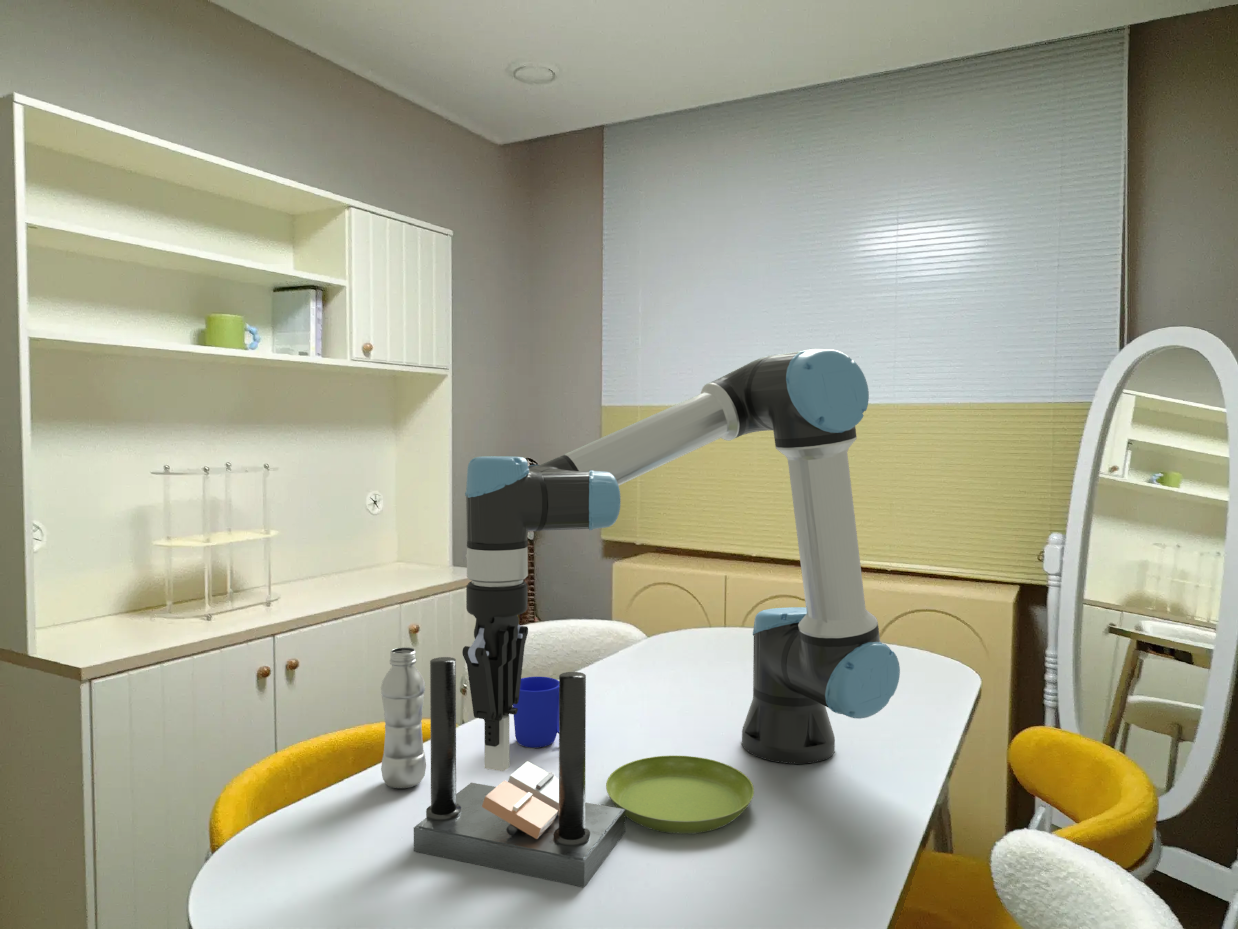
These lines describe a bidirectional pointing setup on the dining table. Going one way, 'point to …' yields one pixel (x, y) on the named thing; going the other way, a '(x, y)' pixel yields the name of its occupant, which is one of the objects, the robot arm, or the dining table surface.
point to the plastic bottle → (403, 721)
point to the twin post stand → (462, 820)
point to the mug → (537, 712)
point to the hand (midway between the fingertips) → (496, 767)
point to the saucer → (680, 793)
